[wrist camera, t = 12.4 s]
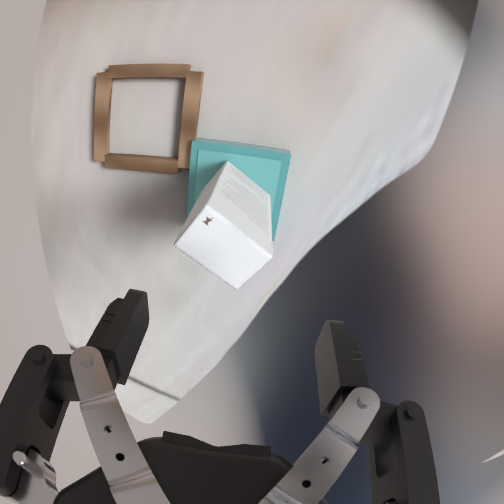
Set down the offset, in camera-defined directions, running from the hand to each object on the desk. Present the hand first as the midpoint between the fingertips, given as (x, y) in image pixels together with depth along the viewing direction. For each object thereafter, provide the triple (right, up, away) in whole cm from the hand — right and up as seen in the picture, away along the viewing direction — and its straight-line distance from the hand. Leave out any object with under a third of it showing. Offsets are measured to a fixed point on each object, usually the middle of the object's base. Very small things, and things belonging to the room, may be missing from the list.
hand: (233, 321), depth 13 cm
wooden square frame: (-11, +18, +16) cm, 26 cm away
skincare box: (-1, +9, +18) cm, 21 cm away
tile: (-1, +10, +20) cm, 23 cm away
